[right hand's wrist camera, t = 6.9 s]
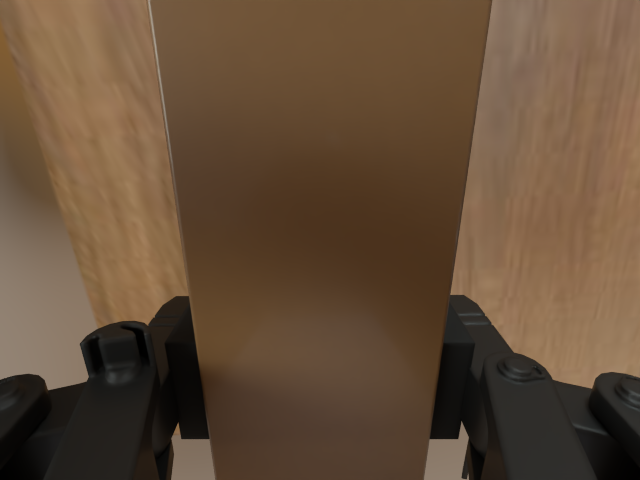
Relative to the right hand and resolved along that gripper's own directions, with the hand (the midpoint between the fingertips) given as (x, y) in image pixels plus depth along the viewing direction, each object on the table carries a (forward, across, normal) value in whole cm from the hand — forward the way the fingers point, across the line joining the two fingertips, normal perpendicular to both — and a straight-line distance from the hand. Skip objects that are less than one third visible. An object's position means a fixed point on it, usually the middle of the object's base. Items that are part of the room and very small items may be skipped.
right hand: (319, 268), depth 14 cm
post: (+1, 0, -26) cm, 26 cm away
